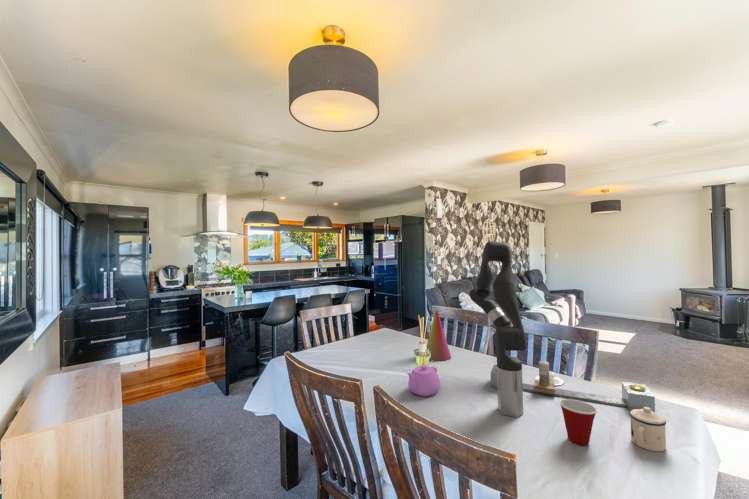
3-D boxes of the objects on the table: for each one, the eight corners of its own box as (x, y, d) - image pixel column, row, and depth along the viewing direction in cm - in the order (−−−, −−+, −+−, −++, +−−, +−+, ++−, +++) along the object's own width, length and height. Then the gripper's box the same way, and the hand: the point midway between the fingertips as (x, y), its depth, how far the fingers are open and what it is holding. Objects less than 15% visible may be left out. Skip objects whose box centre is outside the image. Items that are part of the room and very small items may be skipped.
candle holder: (531, 382, 157) (531, 373, 157) (540, 374, 166) (540, 366, 166) (559, 389, 149) (559, 379, 149) (566, 381, 157) (566, 372, 157)
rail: (655, 415, 123) (654, 395, 123) (490, 388, 150) (490, 371, 150) (646, 401, 134) (645, 383, 134) (494, 378, 161) (494, 363, 161)
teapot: (425, 381, 159) (425, 357, 159) (448, 390, 149) (447, 364, 149) (396, 394, 146) (396, 368, 146) (419, 404, 136) (418, 376, 136)
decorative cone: (418, 357, 196) (417, 307, 197) (435, 351, 207) (433, 303, 207) (440, 363, 184) (439, 310, 185) (456, 356, 195) (455, 306, 195)
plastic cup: (605, 443, 106) (604, 406, 106) (587, 454, 101) (586, 415, 101) (571, 428, 116) (570, 394, 116) (553, 437, 110) (552, 402, 110)
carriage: (555, 394, 140) (554, 366, 140) (534, 390, 143) (533, 364, 143) (554, 386, 148) (553, 360, 148) (534, 383, 151) (534, 358, 151)
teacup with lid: (635, 432, 112) (634, 398, 112) (670, 445, 104) (669, 409, 105) (622, 445, 105) (621, 409, 105) (659, 460, 97) (658, 421, 98)
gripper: (493, 316, 159) (515, 345, 149) (511, 312, 167) (533, 340, 157) (485, 325, 164) (505, 354, 154) (503, 321, 171) (523, 348, 162)
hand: (519, 347), depth 156 cm, fingers open, 8 cm apart
